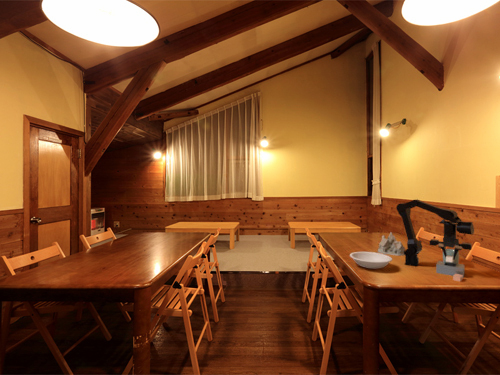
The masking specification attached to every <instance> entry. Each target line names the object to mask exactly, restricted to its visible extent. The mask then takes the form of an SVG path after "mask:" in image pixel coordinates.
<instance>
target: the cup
mask: <svg viewBox="0 0 500 375" xmlns="http://www.w3.org/2000/svg"><path fill="white" fill-rule="evenodd" d="M454 250H455V249H454V248H446V253H447V255H449V256H454ZM442 261H444V262H447V261H446V258H445V255H444V253H443V252H442ZM459 262H460V250H459V251H458V252H457V254H456V257H455V259H454V261H453V262H450V263H457V264H460V263H459Z"/></svg>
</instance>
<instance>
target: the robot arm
mask: <svg viewBox="0 0 500 375" xmlns="http://www.w3.org/2000/svg"><path fill="white" fill-rule="evenodd" d="M416 207H418V208H419V209H422V210H424V211H428V212H430V213H432V214H435V215H437V216H438V217H439V218H441V219H442V220H440V221H439V222H438V224H442V225H443V238H442V241H441V240H440V239H436V238H432V239H430V240H429V246H435V247H436V246H437V245H438V248H440V249H441V251H442V254H443V253H444V255H445V258H446V256H447V253H446V249H447V248H451V249H453V250H454V256H453V260H454V259H455V257H456V254H457V252H458V251H459V252H460V251H461V250H462V249H463V250H467V251H471V250H472V249H473V247H472V243H470V242H463V241H462V243H460V241H459V238H457V232H458V233H459V234H463V235H474V233H475V227H474V224H473V221H463V220H462V219H461V218H460V217H459V216H458V213H457V211H455V210H454V209H449V208H443V207H439V206H435V205H434V204H431V203H428V202H425V201H422V200H420V199H417V198H416V199H413V200H410V201H408V202H404V203H402V202H401V203H398V204H397V205H396V208H395V209H396V211H397V213H398V215H399V216H400V217H401V220H402V223H403V227H404V230H405V233H406V234H405V235H406V237H407V241H406V242H407V243H406V247H407V249H406V248H405V251H404V255H403V256H404V258H405V262H404V265H406V266H407V265H408V266H413V267H417V266H419V263H420V262H419V260H420V259H419V257H418V256H419V254H420V252H421V251H422V250H423V244H422V241H421V240H418V239H417V236H416V232H415V230H414V225H413V222H412V219H411V212H412V211H411V209H413V208H416Z"/></svg>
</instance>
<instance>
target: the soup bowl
mask: <svg viewBox="0 0 500 375" xmlns="http://www.w3.org/2000/svg"><path fill="white" fill-rule="evenodd" d="M349 258H352V259H353V261H354V262H355V263H356V264H357V265H358V266H360V267H362V268H367V269H376V270H377V269H382V268H384V267H386V266H387V265H388V264H389V263H390V262H392V261H393V258H392V257H391V255H389V254H383V253H379V252H374V251H355V252H351V253H350V254H349Z"/></svg>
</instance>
